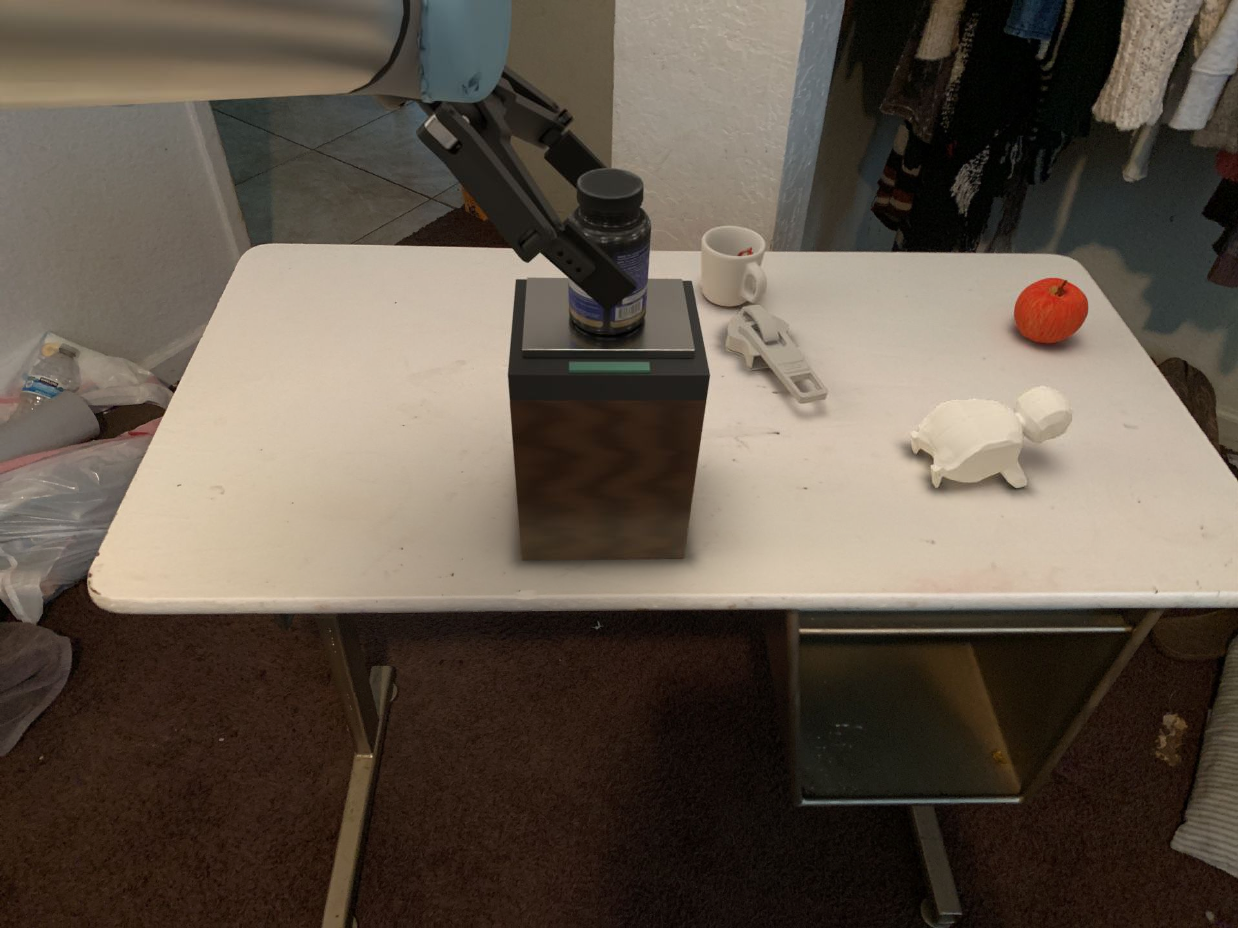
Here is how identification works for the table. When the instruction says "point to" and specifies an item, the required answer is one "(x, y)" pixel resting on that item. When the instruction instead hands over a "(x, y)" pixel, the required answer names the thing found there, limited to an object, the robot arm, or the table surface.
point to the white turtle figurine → (989, 434)
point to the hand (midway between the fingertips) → (618, 246)
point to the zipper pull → (772, 350)
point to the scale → (606, 348)
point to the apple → (1050, 310)
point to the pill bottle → (613, 246)
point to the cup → (732, 266)
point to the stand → (605, 477)
